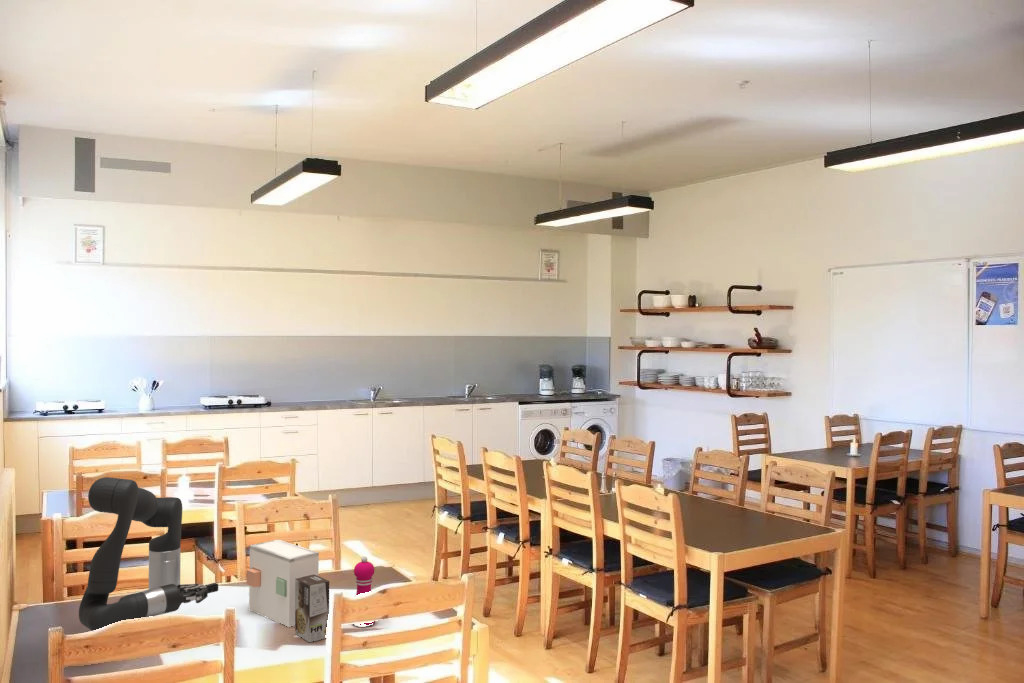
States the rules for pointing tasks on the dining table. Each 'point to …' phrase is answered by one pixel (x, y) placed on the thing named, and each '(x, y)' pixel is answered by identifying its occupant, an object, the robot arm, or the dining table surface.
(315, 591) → the coffee box
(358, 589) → the pepper mill
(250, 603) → the button panel
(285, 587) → the sage button
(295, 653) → the dining table surface
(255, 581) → the terracotta button
